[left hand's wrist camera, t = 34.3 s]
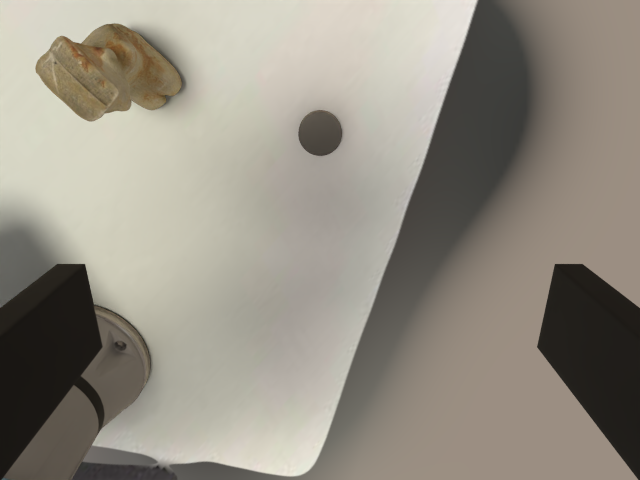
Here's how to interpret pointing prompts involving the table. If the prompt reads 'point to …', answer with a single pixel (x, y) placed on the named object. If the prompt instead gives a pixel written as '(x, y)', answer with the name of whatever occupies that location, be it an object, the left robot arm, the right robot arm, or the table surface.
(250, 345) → the table surface
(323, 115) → the cap
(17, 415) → the left robot arm
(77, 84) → the sculpture
